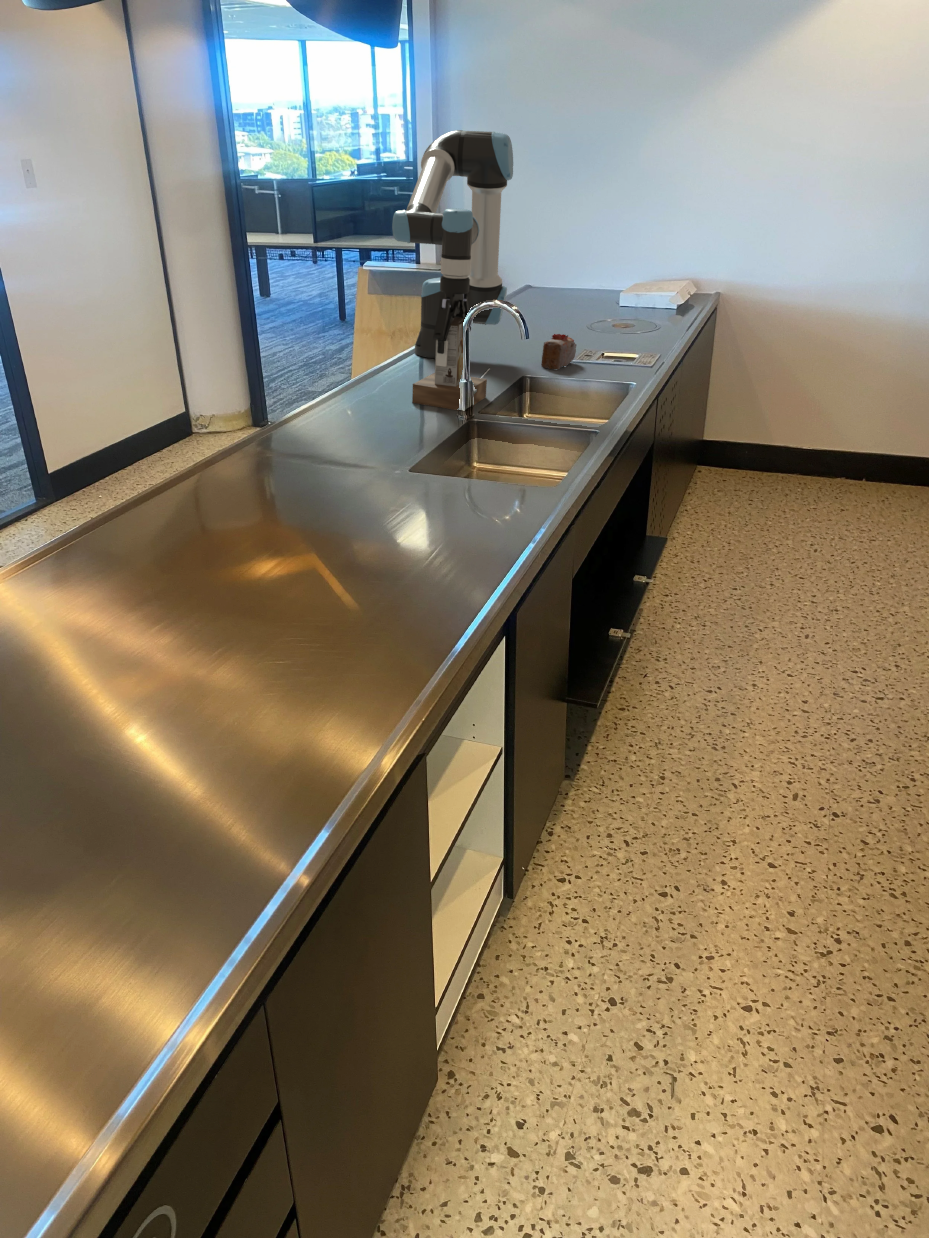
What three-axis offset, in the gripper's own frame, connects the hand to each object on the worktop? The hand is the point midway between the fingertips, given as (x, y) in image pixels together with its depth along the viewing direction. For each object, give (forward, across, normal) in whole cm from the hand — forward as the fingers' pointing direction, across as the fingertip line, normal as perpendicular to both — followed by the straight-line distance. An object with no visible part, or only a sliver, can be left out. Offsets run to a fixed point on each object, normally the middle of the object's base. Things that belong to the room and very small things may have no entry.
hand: (451, 360), depth 235 cm
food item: (+11, -57, +14) cm, 59 cm away
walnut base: (+10, 0, 0) cm, 10 cm away
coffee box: (+6, 0, 0) cm, 6 cm away
